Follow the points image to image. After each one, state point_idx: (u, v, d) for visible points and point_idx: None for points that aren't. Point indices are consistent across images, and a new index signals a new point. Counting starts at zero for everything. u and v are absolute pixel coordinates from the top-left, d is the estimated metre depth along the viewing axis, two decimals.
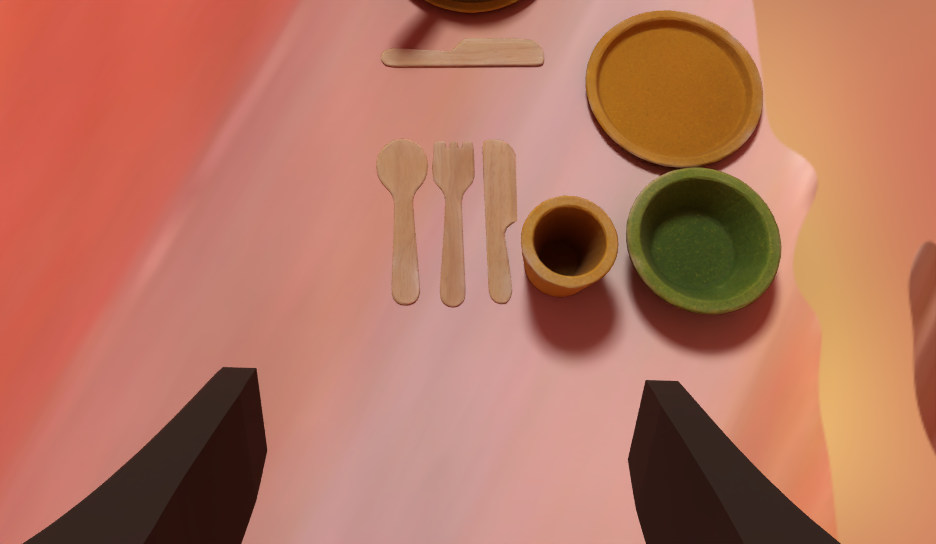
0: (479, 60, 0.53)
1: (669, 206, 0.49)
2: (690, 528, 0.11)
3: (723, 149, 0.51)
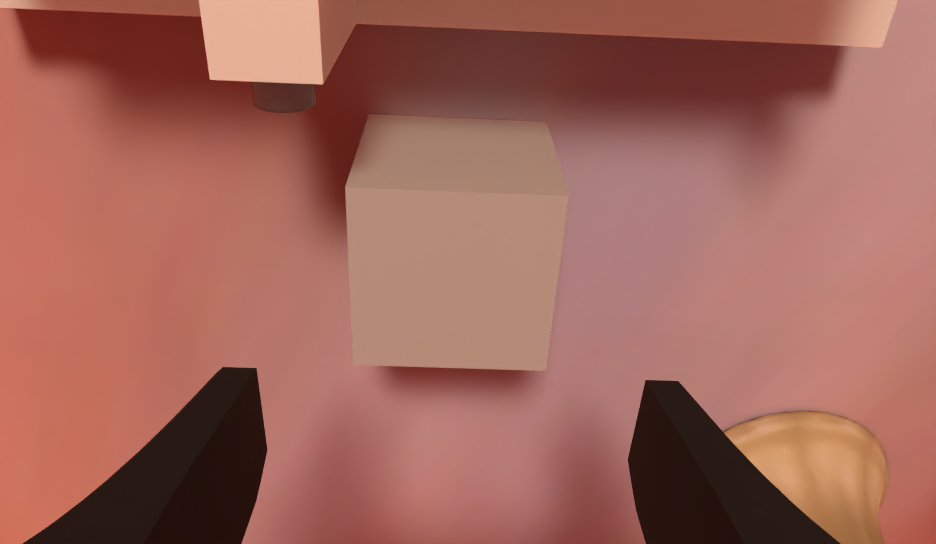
0: None
1: None
2: (691, 528, 0.11)
3: None
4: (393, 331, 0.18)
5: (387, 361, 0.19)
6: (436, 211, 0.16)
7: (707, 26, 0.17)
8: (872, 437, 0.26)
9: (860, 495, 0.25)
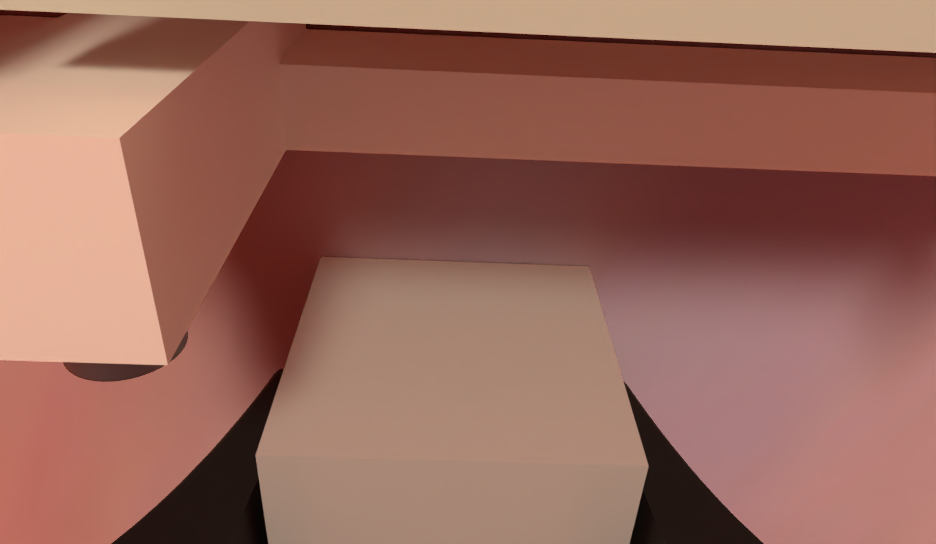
0: None
1: None
2: None
3: None
4: None
5: None
6: (416, 487, 0.09)
7: (872, 153, 0.10)
8: None
9: None
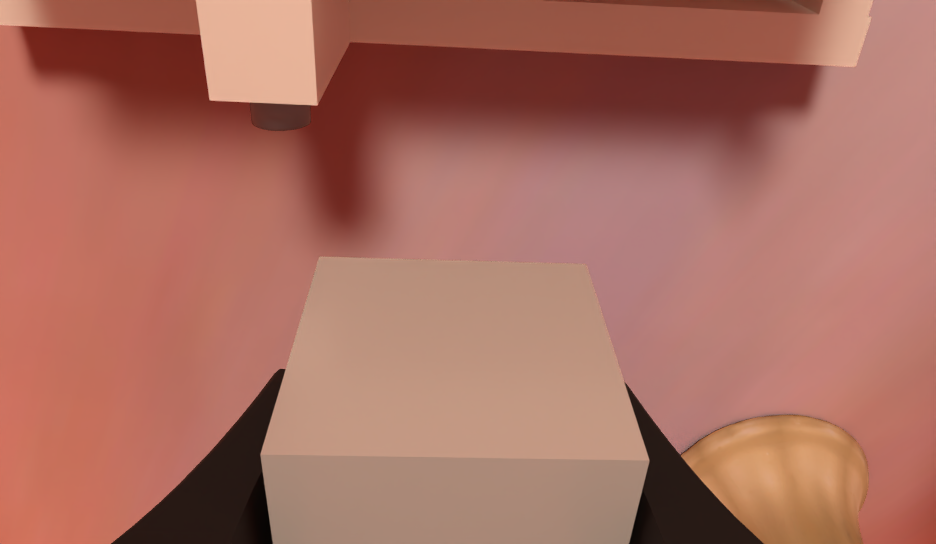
0: None
1: None
2: None
3: None
4: None
5: None
6: (420, 485, 0.10)
7: (687, 46, 0.18)
8: (852, 440, 0.27)
9: (840, 497, 0.26)
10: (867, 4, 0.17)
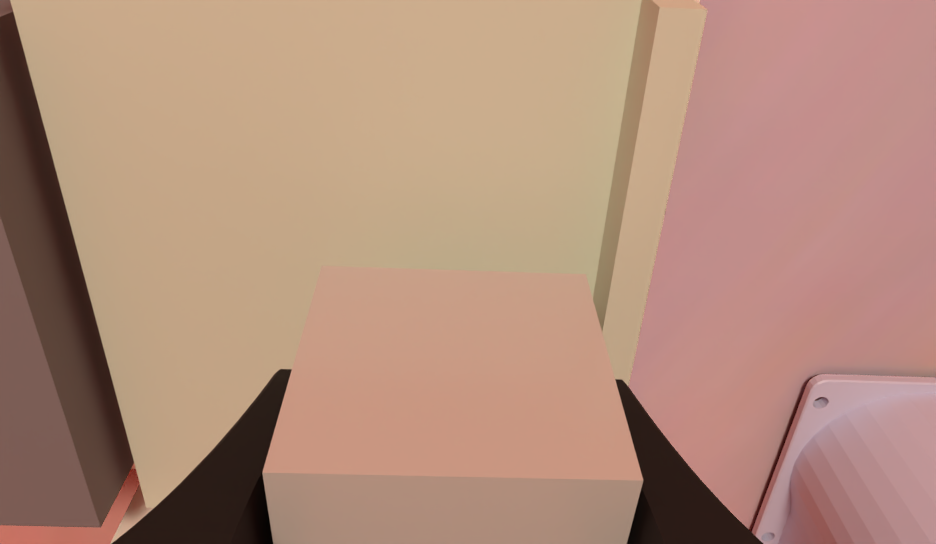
0: None
1: None
2: None
3: None
4: None
5: None
6: (419, 502, 0.10)
7: None
8: None
9: None
10: None
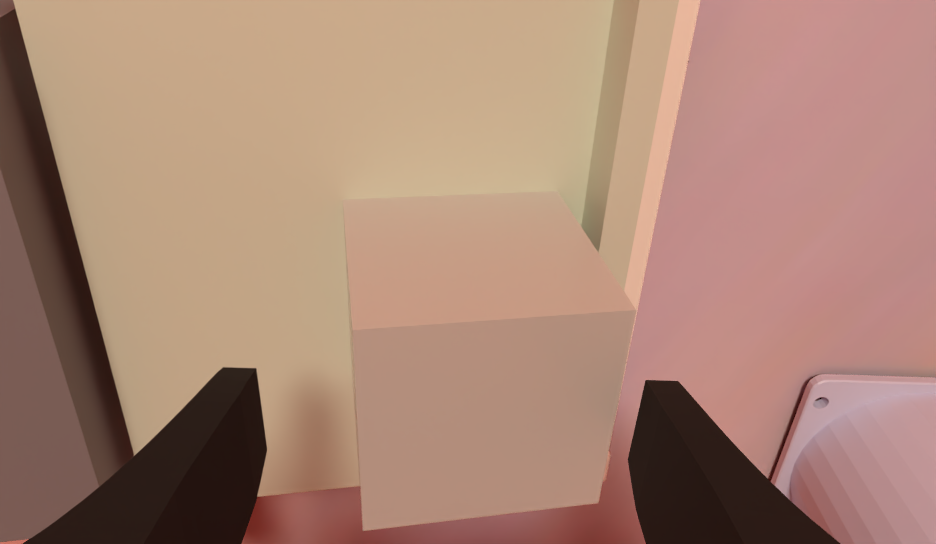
0: None
1: None
2: (691, 529, 0.11)
3: None
4: (414, 487, 0.14)
5: (406, 520, 0.15)
6: (470, 345, 0.13)
7: None
8: None
9: None
10: None
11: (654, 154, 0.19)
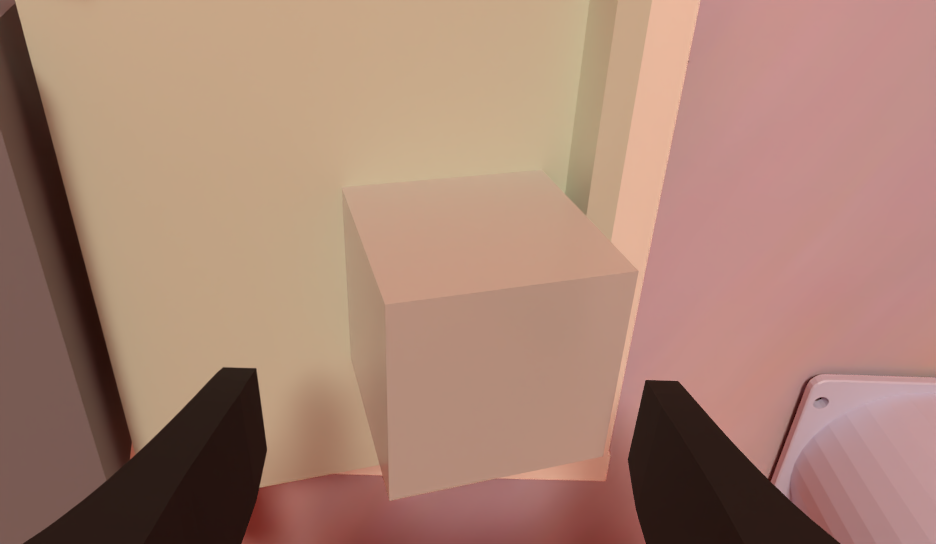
0: None
1: None
2: (691, 529, 0.11)
3: None
4: (438, 454, 0.15)
5: (429, 487, 0.15)
6: (492, 312, 0.14)
7: None
8: None
9: None
10: (605, 449, 0.24)
11: (654, 154, 0.19)
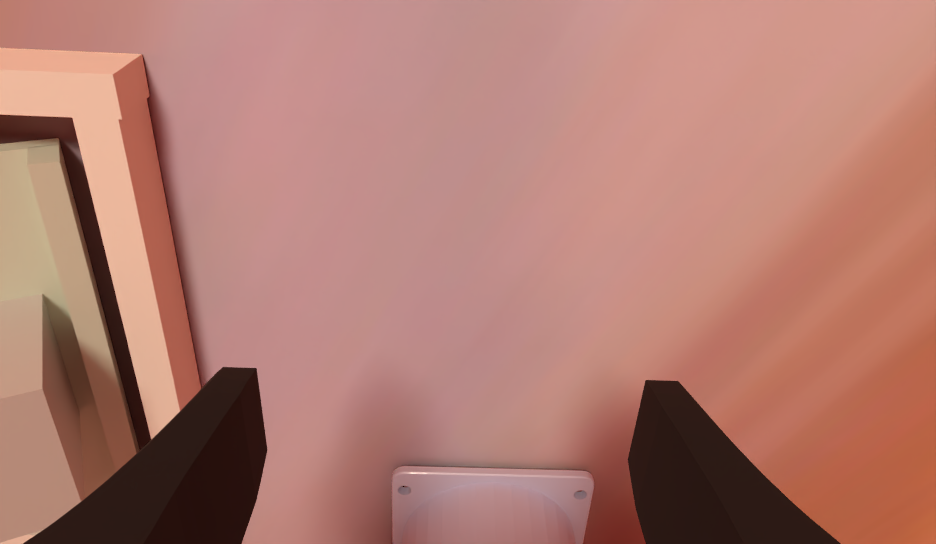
0: None
1: None
2: (690, 528, 0.11)
3: None
4: None
5: None
6: None
7: None
8: None
9: None
10: None
11: (146, 305, 0.22)
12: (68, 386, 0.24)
